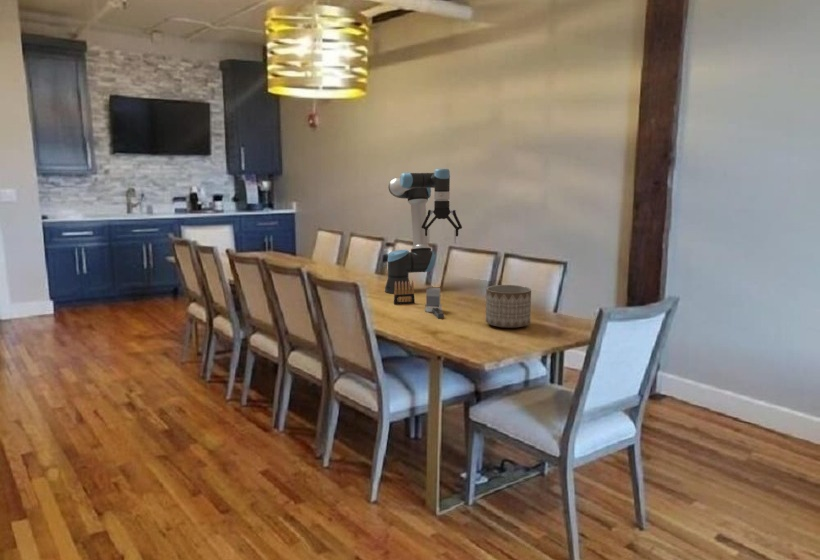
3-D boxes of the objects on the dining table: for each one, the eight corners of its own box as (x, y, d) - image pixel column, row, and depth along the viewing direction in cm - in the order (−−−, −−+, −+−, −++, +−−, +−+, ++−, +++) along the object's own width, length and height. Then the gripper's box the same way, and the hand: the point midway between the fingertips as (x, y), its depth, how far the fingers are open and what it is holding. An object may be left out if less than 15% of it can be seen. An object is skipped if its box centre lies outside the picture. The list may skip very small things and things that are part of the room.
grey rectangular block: (428, 303, 303) (428, 287, 302) (440, 304, 302) (440, 288, 301) (426, 306, 297) (426, 290, 296) (438, 306, 296) (438, 290, 295)
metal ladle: (423, 309, 303) (423, 297, 302) (439, 309, 305) (439, 297, 304) (432, 319, 284) (432, 306, 283) (449, 318, 286) (449, 305, 284)
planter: (477, 322, 277) (478, 286, 274) (514, 318, 285) (515, 283, 282) (500, 332, 260) (501, 294, 257) (538, 328, 267) (540, 290, 264)
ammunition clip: (413, 302, 320) (413, 280, 318) (414, 303, 318) (414, 280, 316) (393, 303, 317) (393, 281, 315) (394, 304, 315) (394, 281, 313)
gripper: (416, 200, 306) (416, 243, 309) (466, 200, 302) (465, 243, 305) (418, 199, 313) (418, 241, 317) (467, 200, 309) (466, 242, 313)
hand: (441, 242), depth 311 cm, fingers open, 13 cm apart
